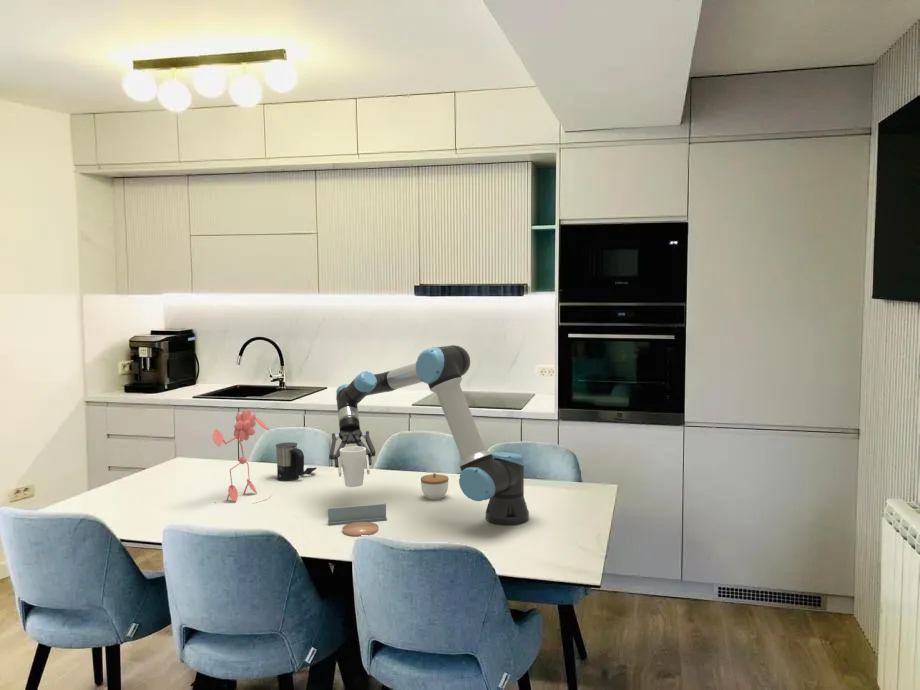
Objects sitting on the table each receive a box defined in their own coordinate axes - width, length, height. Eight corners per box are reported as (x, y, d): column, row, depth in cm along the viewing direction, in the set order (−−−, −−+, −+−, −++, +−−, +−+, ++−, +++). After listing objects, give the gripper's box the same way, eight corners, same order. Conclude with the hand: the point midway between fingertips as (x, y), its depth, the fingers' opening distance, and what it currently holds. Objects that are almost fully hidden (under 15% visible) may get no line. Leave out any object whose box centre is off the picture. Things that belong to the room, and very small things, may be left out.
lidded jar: (415, 499, 288) (415, 475, 287) (429, 492, 297) (429, 468, 297) (440, 503, 283) (439, 478, 282) (453, 495, 292) (453, 471, 292)
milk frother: (272, 480, 318) (271, 446, 317) (291, 471, 333) (290, 438, 332) (302, 482, 314) (301, 447, 312) (320, 473, 329) (319, 439, 327)
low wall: (385, 516, 267) (384, 502, 267) (386, 520, 263) (386, 505, 263) (328, 521, 262) (327, 506, 262) (328, 525, 259) (328, 510, 258)
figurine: (208, 505, 284) (206, 413, 280) (256, 488, 307) (255, 403, 303) (239, 511, 277) (237, 417, 273) (286, 493, 300) (284, 406, 296)
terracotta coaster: (385, 529, 254) (385, 526, 254) (360, 538, 245) (360, 535, 245) (360, 522, 261) (360, 519, 261) (334, 531, 252) (334, 528, 252)
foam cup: (355, 479, 278) (353, 445, 277) (372, 483, 272) (371, 448, 271) (335, 485, 271) (334, 450, 270) (353, 489, 265) (351, 453, 264)
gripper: (377, 425, 288) (384, 476, 273) (319, 429, 283) (323, 481, 268) (378, 414, 282) (385, 465, 268) (319, 417, 277) (323, 470, 263)
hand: (354, 473), depth 268 cm, fingers closed on foam cup, 9 cm apart
